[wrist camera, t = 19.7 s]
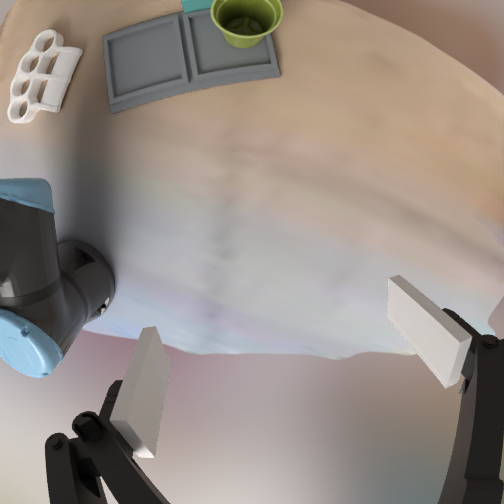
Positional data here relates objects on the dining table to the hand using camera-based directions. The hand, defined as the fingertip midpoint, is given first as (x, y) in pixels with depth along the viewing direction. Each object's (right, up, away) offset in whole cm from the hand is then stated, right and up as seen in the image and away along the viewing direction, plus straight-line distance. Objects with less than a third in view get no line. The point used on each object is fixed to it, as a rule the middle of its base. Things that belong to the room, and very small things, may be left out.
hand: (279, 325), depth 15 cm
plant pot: (-3, +38, +21) cm, 43 cm away
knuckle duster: (-39, +35, +20) cm, 56 cm away
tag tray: (-12, +35, +21) cm, 43 cm away
